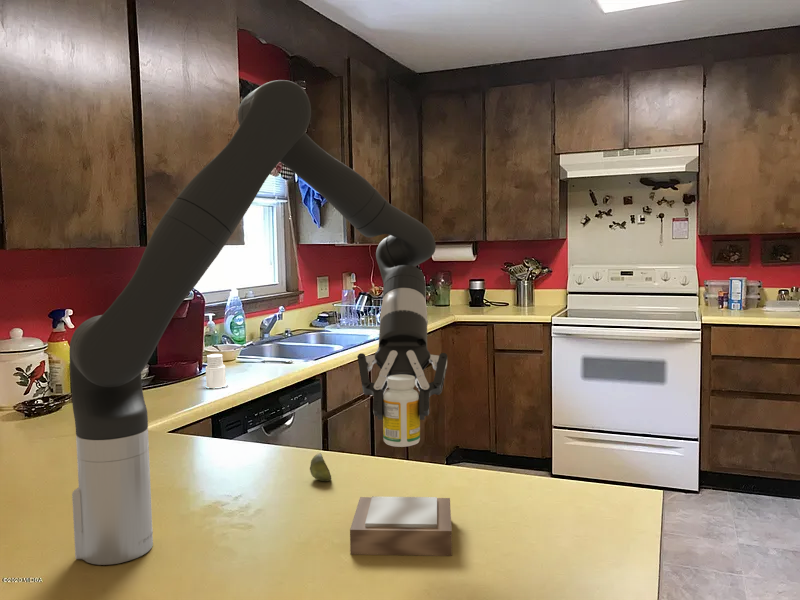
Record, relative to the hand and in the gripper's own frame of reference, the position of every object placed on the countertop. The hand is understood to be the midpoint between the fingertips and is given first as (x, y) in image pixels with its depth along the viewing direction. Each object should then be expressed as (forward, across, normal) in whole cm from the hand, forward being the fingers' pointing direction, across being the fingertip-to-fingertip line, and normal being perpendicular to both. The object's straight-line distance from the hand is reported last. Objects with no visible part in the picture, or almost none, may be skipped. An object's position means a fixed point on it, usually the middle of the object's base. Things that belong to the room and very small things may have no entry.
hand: (401, 416), depth 95 cm
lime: (-4, -16, +30) cm, 35 cm away
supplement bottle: (+2, 0, +4) cm, 5 cm away
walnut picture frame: (+12, 0, +14) cm, 18 cm away
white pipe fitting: (-61, -62, +88) cm, 124 cm away
